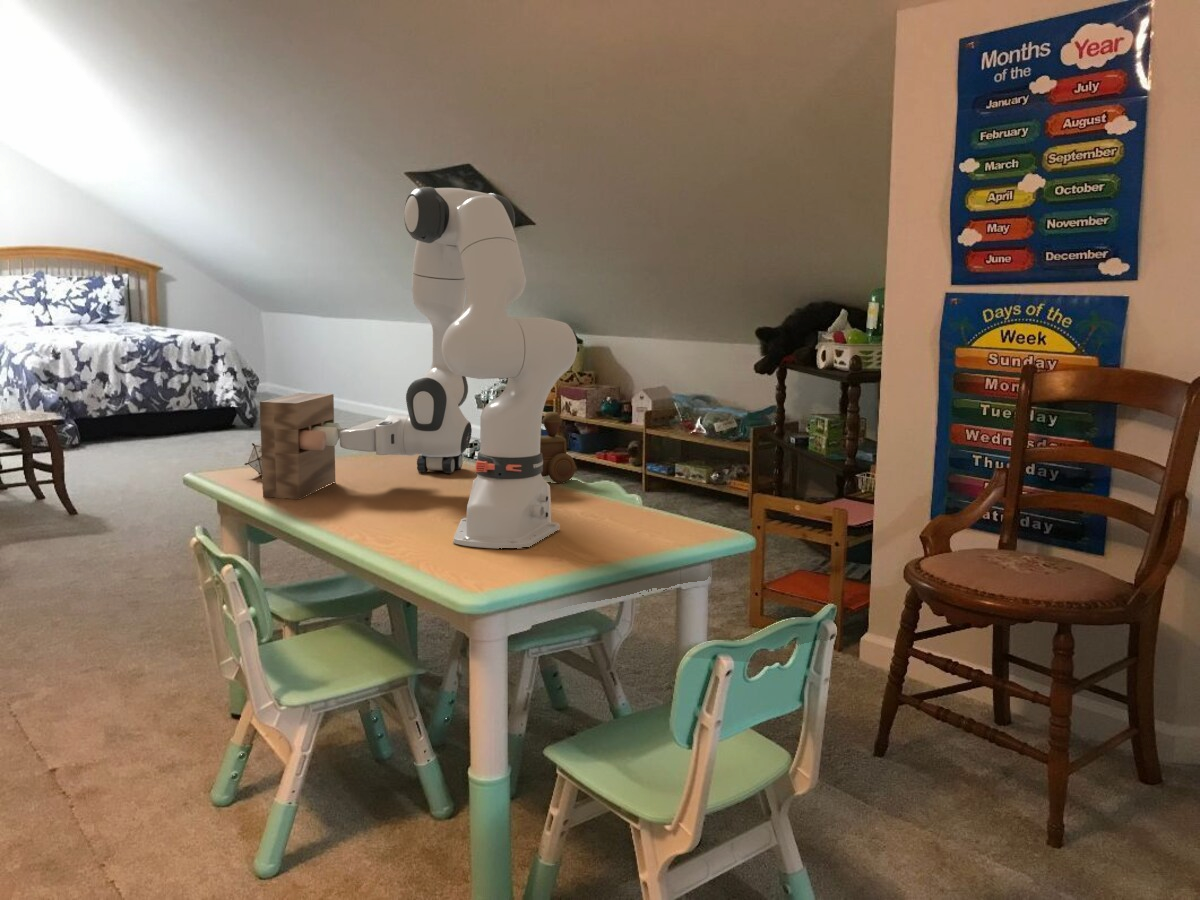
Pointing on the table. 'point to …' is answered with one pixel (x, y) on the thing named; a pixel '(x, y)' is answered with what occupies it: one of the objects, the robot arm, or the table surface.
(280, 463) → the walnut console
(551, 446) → the wooden toy train
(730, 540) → the table surface
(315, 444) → the terracotta button
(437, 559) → the table surface
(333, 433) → the cream button
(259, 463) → the game die
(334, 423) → the sage button
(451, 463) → the toy excavator
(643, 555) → the table surface
